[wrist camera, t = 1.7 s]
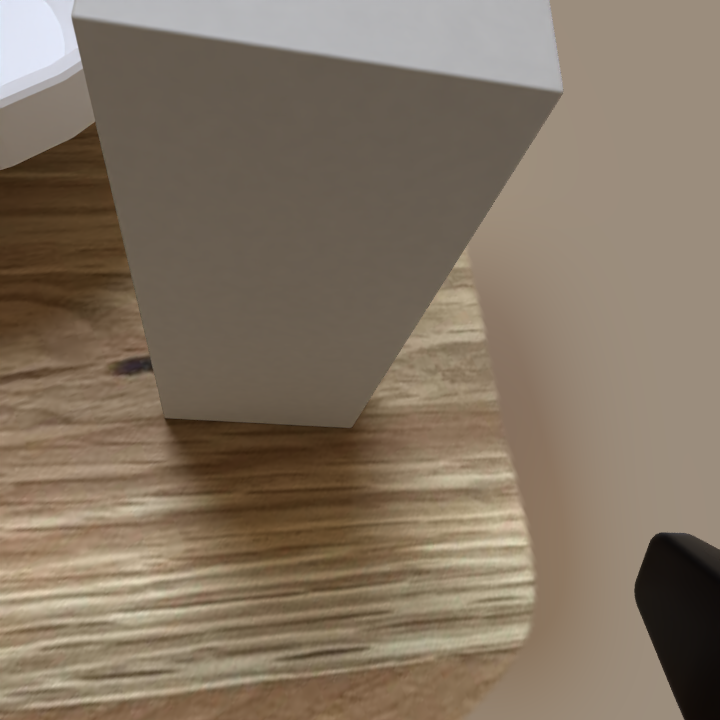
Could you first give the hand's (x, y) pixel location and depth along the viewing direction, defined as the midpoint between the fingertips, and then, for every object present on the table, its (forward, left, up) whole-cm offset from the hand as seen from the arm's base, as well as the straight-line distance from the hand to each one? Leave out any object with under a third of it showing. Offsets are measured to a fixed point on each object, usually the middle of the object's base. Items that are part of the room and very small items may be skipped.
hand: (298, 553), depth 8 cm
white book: (+6, -2, -13) cm, 15 cm away
